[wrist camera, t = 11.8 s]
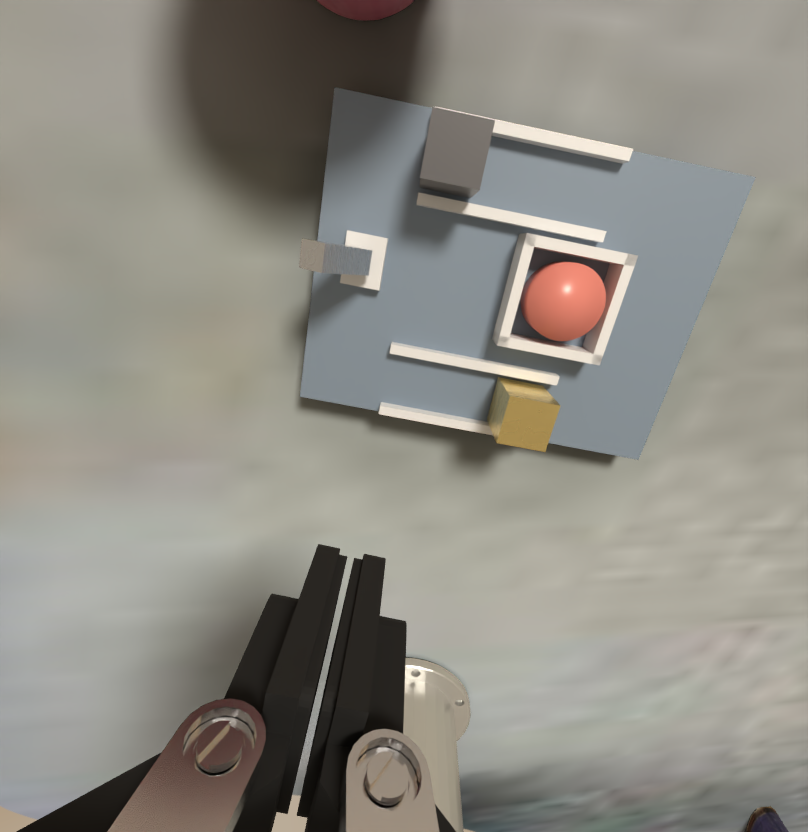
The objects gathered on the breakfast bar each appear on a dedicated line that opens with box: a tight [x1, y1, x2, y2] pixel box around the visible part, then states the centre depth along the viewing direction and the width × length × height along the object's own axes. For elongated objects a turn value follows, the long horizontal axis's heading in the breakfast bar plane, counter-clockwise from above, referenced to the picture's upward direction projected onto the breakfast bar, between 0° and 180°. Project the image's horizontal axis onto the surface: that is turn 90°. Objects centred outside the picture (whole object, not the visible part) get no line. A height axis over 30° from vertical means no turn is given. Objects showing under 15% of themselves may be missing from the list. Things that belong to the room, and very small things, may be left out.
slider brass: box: [487, 377, 560, 452], centre depth 28 cm, size 3×3×4 cm
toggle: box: [299, 238, 372, 276], centre depth 24 cm, size 1×1×5 cm
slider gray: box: [420, 107, 495, 198], centre depth 24 cm, size 3×3×4 cm
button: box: [521, 261, 606, 341], centre depth 27 cm, size 4×4×2 cm
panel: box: [300, 87, 756, 460], centre depth 28 cm, size 18×24×4 cm
